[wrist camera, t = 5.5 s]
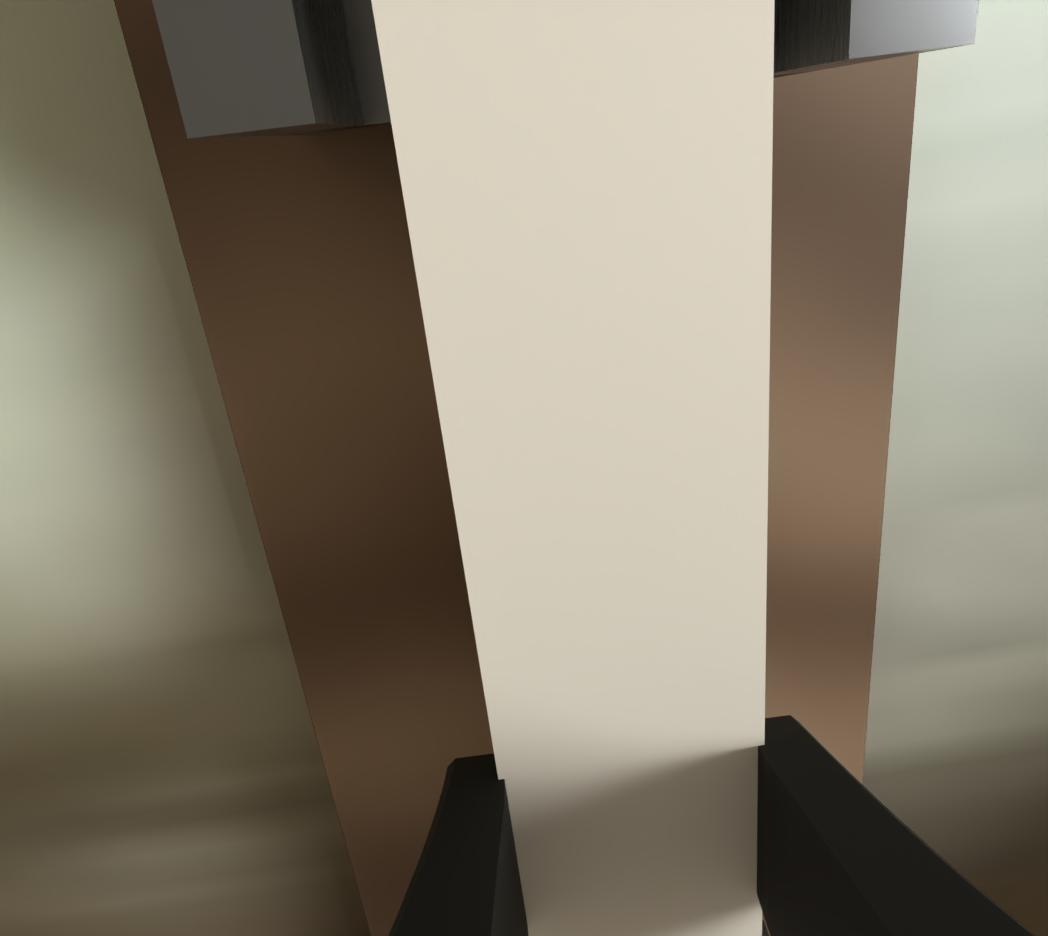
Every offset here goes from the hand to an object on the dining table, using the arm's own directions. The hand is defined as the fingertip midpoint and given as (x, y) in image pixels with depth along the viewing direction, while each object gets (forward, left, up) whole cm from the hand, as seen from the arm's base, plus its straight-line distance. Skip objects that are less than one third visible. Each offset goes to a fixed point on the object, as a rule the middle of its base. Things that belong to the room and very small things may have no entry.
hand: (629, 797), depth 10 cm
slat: (0, 0, -2) cm, 2 cm away
